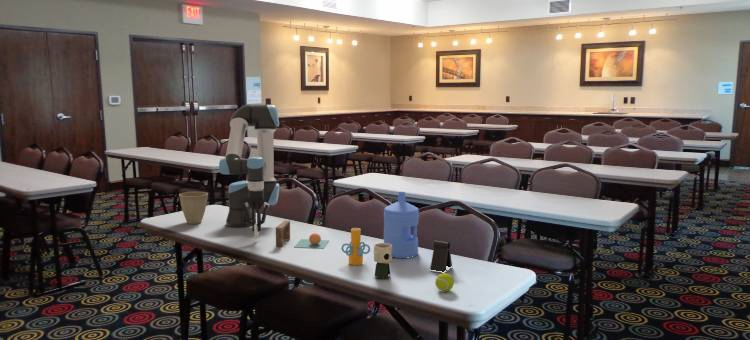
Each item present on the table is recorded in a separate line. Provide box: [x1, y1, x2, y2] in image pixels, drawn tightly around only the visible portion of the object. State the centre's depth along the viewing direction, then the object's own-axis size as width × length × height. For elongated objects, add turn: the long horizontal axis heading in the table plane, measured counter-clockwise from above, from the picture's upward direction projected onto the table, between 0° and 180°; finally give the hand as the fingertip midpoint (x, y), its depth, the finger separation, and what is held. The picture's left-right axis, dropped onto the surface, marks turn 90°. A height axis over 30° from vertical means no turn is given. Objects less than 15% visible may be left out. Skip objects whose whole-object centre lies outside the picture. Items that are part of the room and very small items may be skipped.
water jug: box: [383, 191, 420, 259], centre depth 250 cm, size 16×16×28 cm
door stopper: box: [429, 239, 453, 272], centre depth 230 cm, size 9×6×12 cm, turn 149°
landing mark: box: [294, 238, 330, 250], centre depth 267 cm, size 14×14×1 cm
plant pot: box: [178, 191, 209, 225], centre depth 306 cm, size 15×15×16 cm
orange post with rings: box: [340, 227, 371, 266], centre depth 236 cm, size 12×10×15 cm
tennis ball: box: [434, 272, 455, 292], centre depth 205 cm, size 7×7×7 cm
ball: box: [308, 232, 322, 245], centre depth 265 cm, size 6×6×6 cm
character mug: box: [373, 242, 393, 279], centre depth 219 cm, size 11×7×13 cm, turn 146°
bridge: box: [275, 220, 291, 248], centre depth 268 cm, size 3×14×9 cm, turn 174°
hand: (256, 237), depth 269 cm, fingers closed
